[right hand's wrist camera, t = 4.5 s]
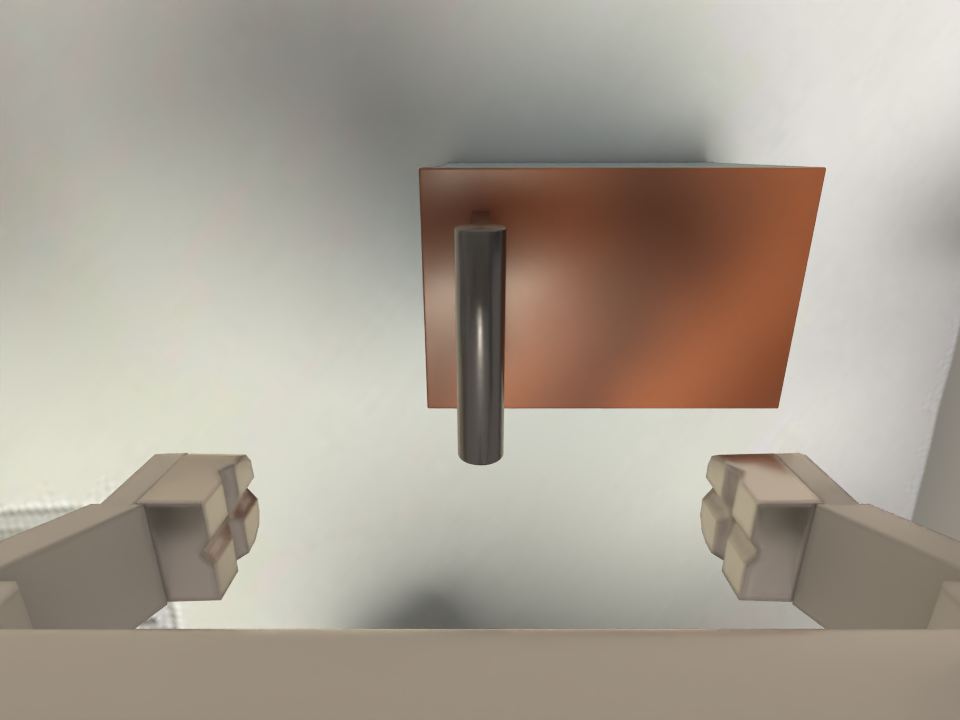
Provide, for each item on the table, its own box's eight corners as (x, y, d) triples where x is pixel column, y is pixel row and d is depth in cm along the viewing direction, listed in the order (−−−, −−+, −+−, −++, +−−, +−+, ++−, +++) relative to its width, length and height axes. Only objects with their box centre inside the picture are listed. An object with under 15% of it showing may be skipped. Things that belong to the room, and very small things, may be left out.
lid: (429, 399, 26) (407, 504, 18) (421, 167, 22) (389, 174, 15) (767, 399, 26) (890, 504, 18) (811, 166, 22) (987, 173, 14)
